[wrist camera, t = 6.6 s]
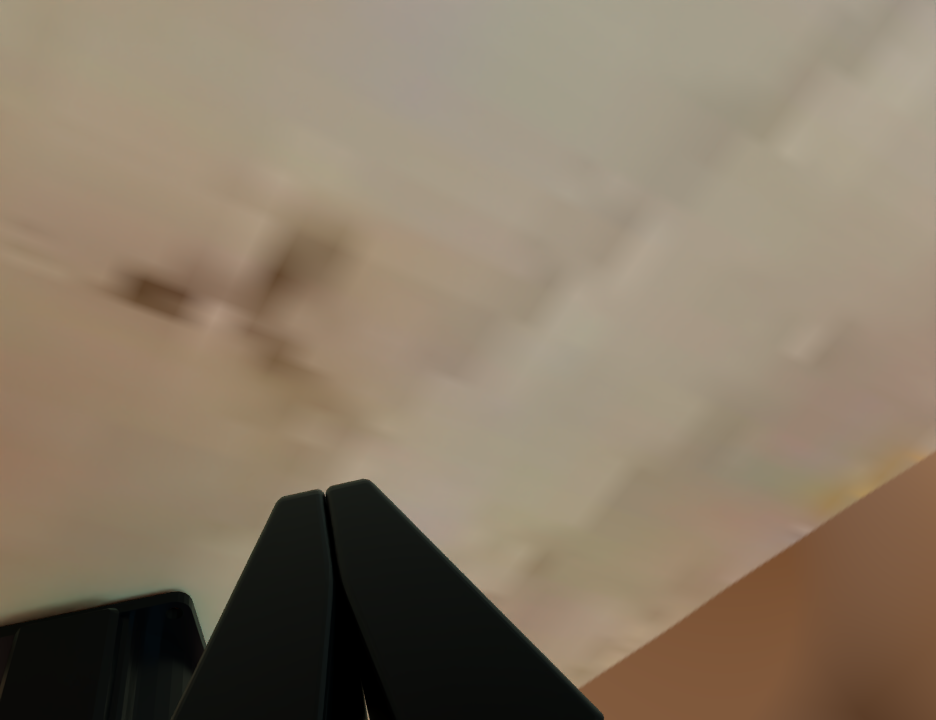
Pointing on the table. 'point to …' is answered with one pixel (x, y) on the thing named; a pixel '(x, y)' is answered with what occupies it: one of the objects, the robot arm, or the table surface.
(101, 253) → the table surface
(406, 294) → the table surface
